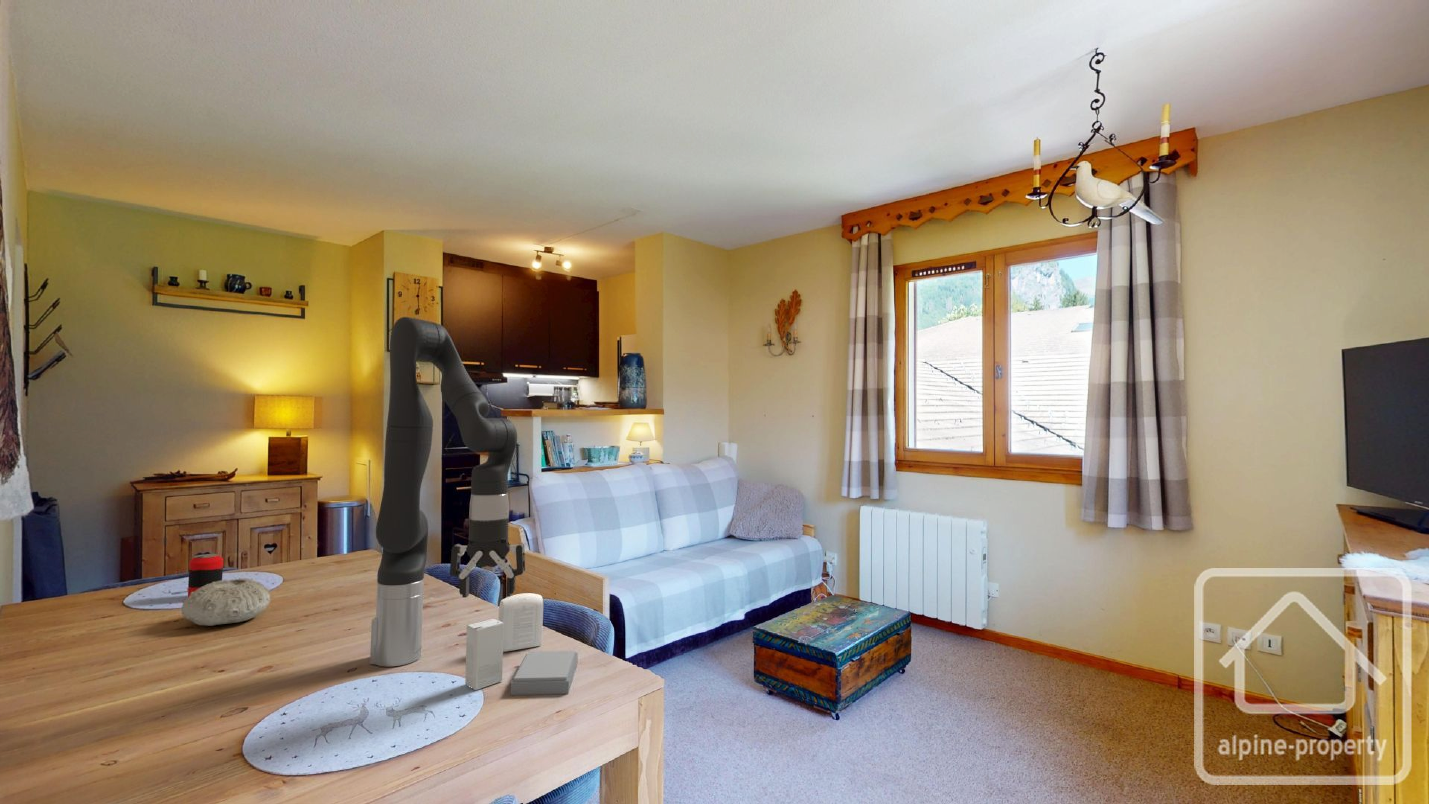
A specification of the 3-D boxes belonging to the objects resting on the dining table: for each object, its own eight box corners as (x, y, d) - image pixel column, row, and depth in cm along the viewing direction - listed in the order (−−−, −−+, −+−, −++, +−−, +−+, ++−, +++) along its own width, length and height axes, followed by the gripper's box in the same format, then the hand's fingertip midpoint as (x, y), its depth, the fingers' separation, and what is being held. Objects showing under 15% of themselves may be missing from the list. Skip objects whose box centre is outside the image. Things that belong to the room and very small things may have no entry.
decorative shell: (268, 625, 155) (269, 585, 155) (175, 638, 145) (177, 595, 145) (270, 607, 169) (272, 570, 170) (186, 617, 159) (188, 578, 160)
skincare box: (491, 676, 127) (493, 617, 127) (503, 682, 124) (505, 622, 124) (463, 685, 122) (465, 624, 123) (474, 692, 119) (476, 629, 120)
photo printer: (538, 640, 148) (540, 589, 148) (544, 646, 144) (546, 593, 145) (494, 648, 142) (496, 594, 143) (499, 654, 139) (501, 599, 139)
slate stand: (510, 695, 118) (511, 679, 118) (526, 664, 133) (526, 650, 133) (568, 693, 119) (568, 678, 120) (577, 663, 134) (577, 649, 134)
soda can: (180, 600, 174) (182, 557, 174) (206, 593, 181) (208, 552, 182) (202, 602, 173) (204, 559, 173) (228, 594, 180) (230, 553, 180)
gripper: (446, 519, 120) (444, 602, 119) (521, 518, 121) (519, 600, 121) (458, 513, 127) (456, 591, 127) (528, 512, 129) (527, 590, 128)
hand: (487, 596), depth 124 cm, fingers open, 8 cm apart
